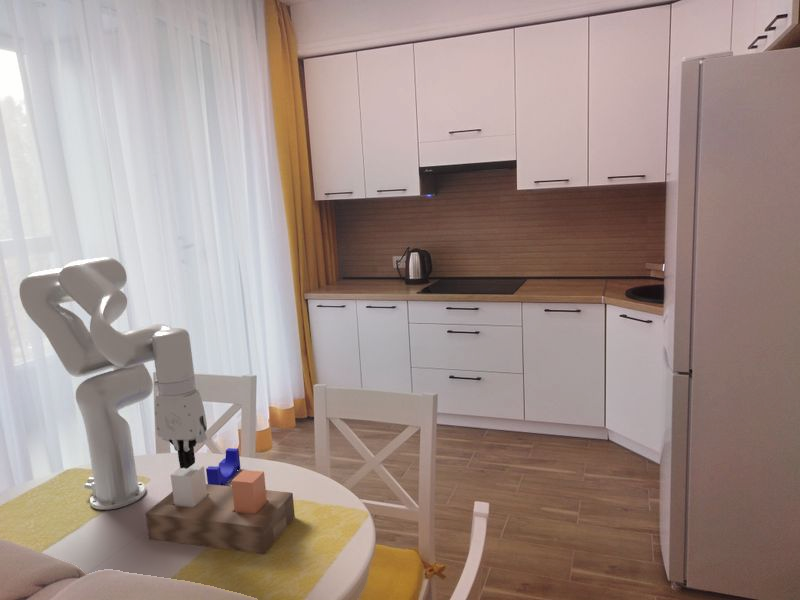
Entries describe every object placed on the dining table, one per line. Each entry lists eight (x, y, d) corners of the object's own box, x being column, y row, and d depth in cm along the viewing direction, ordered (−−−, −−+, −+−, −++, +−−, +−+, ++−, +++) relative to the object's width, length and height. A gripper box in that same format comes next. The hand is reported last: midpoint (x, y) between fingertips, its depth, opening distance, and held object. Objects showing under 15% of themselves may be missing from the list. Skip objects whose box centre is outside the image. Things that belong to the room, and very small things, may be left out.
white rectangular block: (174, 506, 130) (170, 474, 129) (188, 494, 135) (184, 464, 133) (194, 508, 129) (190, 476, 127) (207, 497, 133) (203, 466, 132)
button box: (148, 538, 128) (145, 513, 127) (188, 505, 141) (185, 481, 140) (264, 554, 120) (262, 527, 119) (294, 517, 134) (292, 492, 132)
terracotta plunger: (234, 513, 126) (231, 480, 125) (246, 501, 131) (243, 469, 129) (255, 515, 125) (252, 482, 123) (267, 503, 129) (264, 471, 128)
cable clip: (225, 468, 160) (222, 448, 159) (240, 469, 159) (238, 448, 158) (203, 491, 148) (200, 468, 147) (219, 491, 147) (217, 469, 146)
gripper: (135, 390, 125) (147, 471, 129) (196, 393, 121) (207, 476, 124) (159, 379, 132) (169, 456, 136) (217, 381, 128) (226, 460, 132)
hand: (187, 465), depth 130 cm, fingers closed
